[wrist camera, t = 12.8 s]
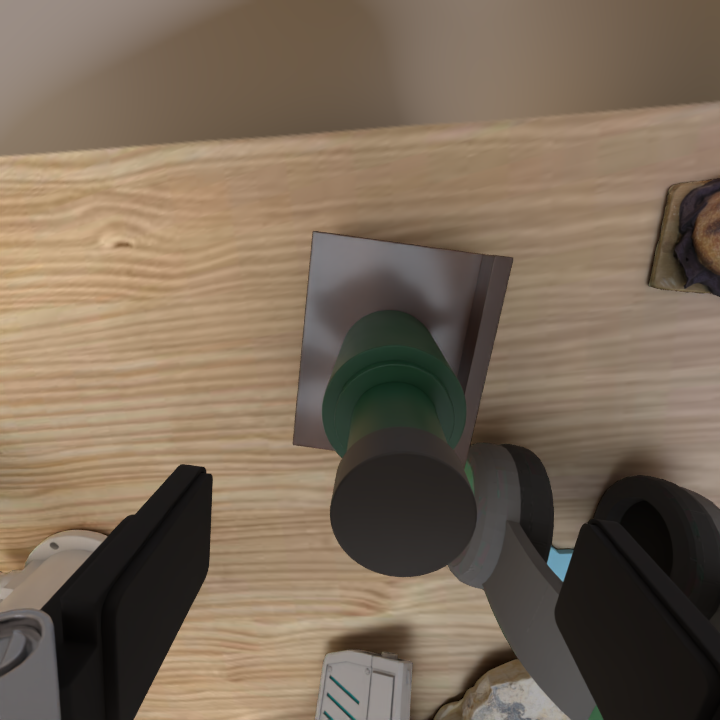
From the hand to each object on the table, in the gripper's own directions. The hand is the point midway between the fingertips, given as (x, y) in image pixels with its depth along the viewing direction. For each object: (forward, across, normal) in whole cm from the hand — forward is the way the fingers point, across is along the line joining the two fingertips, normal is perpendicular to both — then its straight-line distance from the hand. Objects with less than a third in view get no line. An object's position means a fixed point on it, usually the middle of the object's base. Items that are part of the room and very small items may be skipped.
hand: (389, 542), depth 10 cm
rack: (+24, -1, -1) cm, 24 cm away
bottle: (+16, 0, -1) cm, 16 cm away
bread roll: (+22, -22, -16) cm, 35 cm away
